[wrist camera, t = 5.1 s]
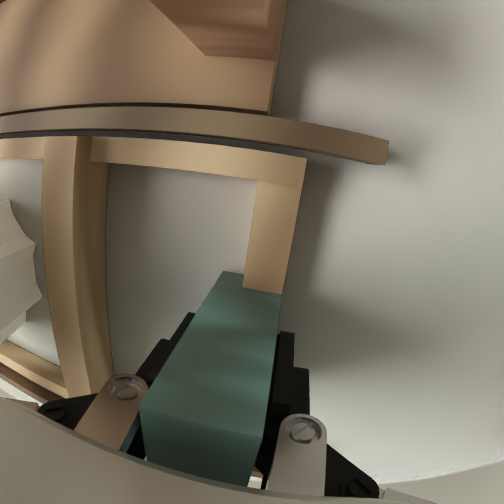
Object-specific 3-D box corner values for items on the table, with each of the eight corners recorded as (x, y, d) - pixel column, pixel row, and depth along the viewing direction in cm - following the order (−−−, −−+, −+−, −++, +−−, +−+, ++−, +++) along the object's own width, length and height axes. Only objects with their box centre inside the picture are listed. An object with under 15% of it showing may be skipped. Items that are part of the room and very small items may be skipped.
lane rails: (386, -39, 8) (402, -74, 5) (286, 452, 16) (283, 492, 13) (-35, 24, 10) (-60, 19, 8) (-39, 326, 18) (-59, 340, 15)
